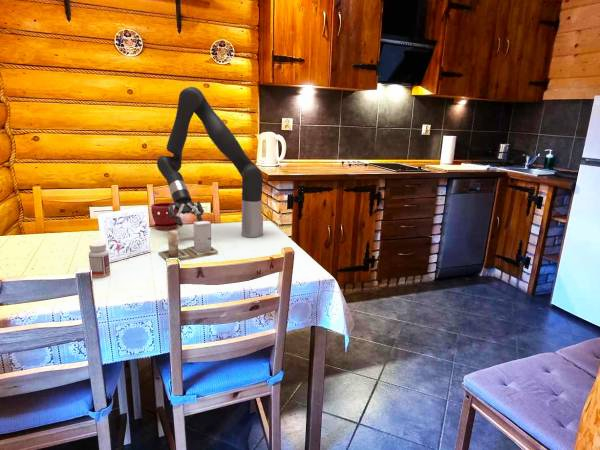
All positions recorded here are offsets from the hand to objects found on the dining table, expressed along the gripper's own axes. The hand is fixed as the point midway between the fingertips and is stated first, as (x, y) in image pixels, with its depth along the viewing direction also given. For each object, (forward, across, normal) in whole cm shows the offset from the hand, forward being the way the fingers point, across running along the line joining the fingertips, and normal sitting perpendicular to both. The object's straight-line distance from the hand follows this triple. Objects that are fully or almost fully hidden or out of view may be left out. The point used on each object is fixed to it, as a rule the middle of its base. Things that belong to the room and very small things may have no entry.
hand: (191, 224), depth 174 cm
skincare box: (+14, 0, -2) cm, 15 cm away
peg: (+14, -12, -3) cm, 19 cm away
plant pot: (-17, 0, +31) cm, 35 cm away
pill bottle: (+17, -40, -3) cm, 43 cm away
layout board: (+15, -7, -2) cm, 17 cm away
